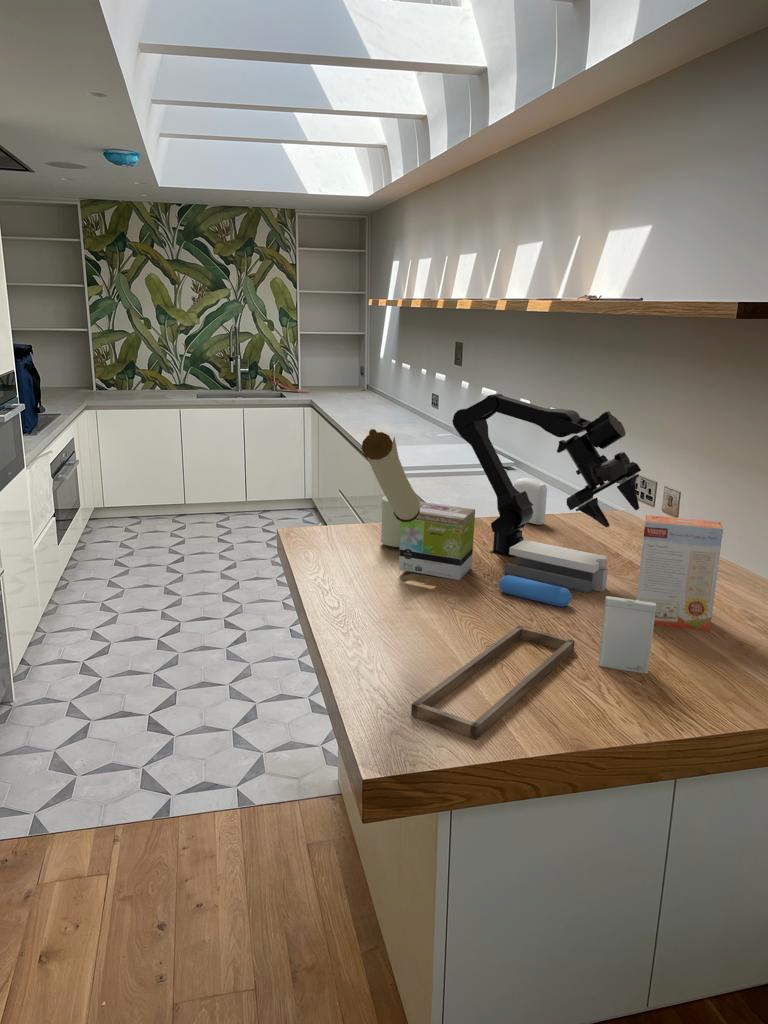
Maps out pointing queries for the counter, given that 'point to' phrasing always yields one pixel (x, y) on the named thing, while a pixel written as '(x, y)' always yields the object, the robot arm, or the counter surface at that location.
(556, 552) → the duct lid
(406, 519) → the rolling pin
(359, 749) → the counter surface
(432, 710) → the frame
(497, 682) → the counter surface
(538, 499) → the photo printer
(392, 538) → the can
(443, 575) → the tea box
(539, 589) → the blue pill shape
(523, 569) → the duct
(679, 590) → the cracker box
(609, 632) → the hard drive
